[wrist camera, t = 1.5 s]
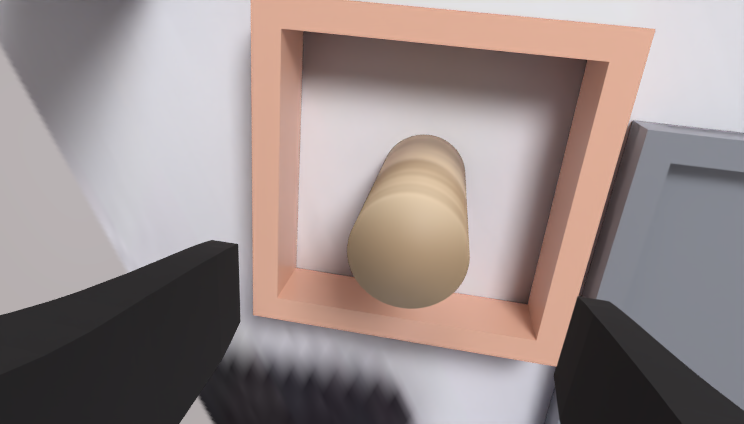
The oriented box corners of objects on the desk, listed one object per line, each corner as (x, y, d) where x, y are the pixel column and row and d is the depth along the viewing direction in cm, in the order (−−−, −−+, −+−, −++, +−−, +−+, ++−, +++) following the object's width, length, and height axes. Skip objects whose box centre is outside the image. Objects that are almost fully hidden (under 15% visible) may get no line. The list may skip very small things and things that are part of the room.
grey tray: (760, 496, 22) (780, 527, 21) (535, 453, 24) (540, 480, 22) (950, 156, 16) (996, 169, 15) (632, 120, 17) (648, 129, 16)
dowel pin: (458, 218, 20) (459, 317, 13) (379, 207, 20) (343, 298, 14) (471, 140, 19) (479, 207, 12) (387, 130, 19) (351, 190, 12)
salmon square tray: (546, 328, 21) (557, 366, 19) (274, 283, 22) (252, 315, 20) (627, 26, 16) (655, 29, 14) (277, -6, 18) (250, -9, 15)
